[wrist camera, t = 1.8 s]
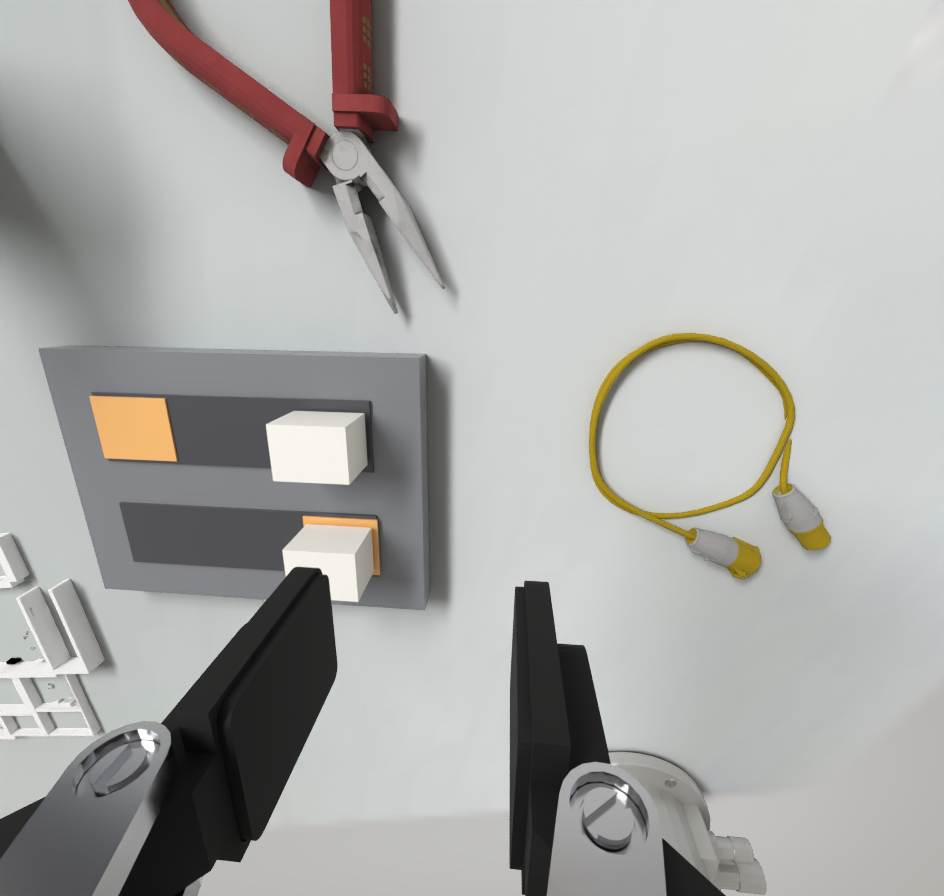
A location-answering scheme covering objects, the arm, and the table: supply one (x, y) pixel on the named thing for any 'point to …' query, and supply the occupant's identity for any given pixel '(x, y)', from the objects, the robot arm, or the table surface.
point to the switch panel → (238, 464)
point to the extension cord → (718, 546)
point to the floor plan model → (47, 653)
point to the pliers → (305, 140)
